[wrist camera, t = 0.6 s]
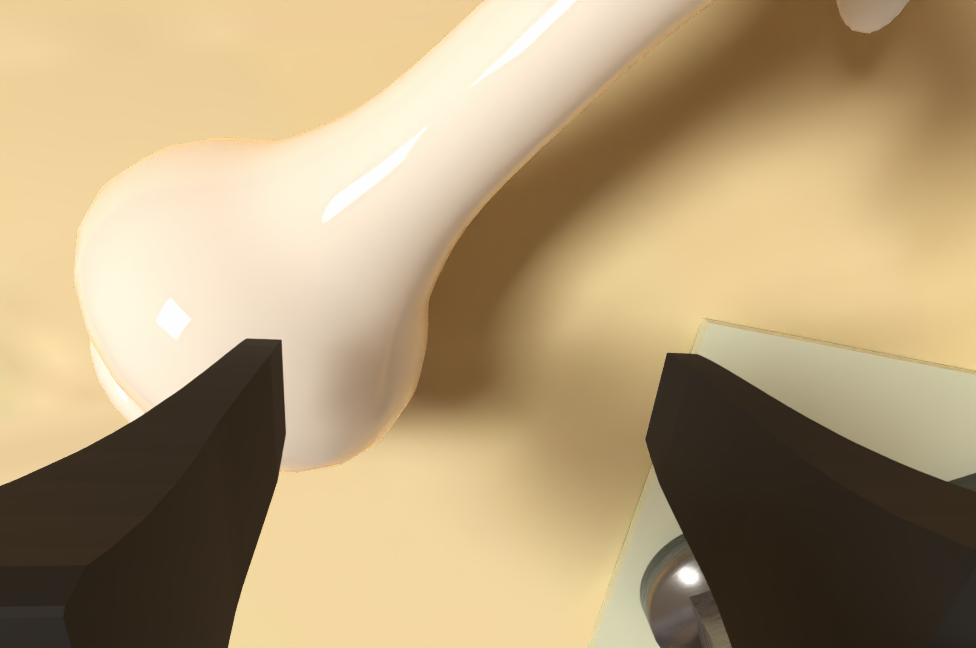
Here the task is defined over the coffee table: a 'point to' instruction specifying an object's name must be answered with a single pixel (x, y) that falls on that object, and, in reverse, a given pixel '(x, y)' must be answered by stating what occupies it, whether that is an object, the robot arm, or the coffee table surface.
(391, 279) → the flower vase
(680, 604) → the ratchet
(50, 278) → the coffee table surface
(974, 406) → the mat
